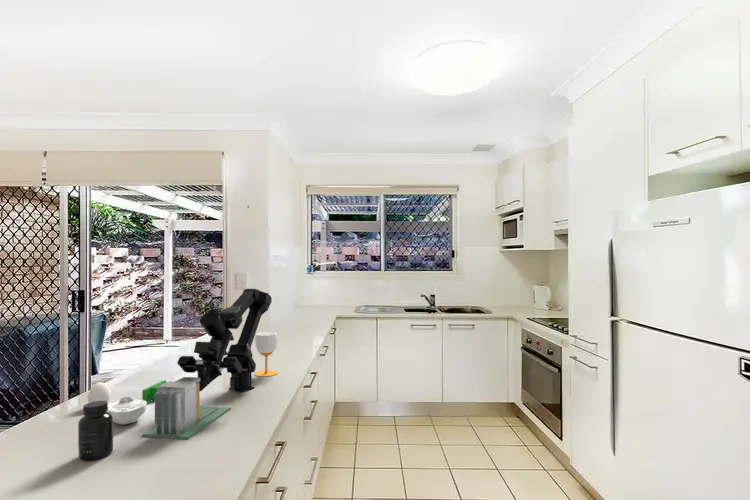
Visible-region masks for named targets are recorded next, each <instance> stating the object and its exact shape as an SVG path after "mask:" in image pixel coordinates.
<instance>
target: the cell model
mask: <svg viewBox="0 0 750 500" xmlns="http://www.w3.org/2000/svg"><path fill="white" fill-rule="evenodd" d="M147 404H148V403H147V401H144V400H143V399H142V398H133V397H131V396H129V395H126V396H123V397H122V398H120V400H117V401H115V402H110V403H109V404H108V410H107V412H109V413H111V414H112V416H113V423H116V424H117V425H121V426H122V425H129V424H131V423H135V422H137V421H138V419H140V418H141V417H142V415H144V413H146V411H147Z"/></svg>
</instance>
